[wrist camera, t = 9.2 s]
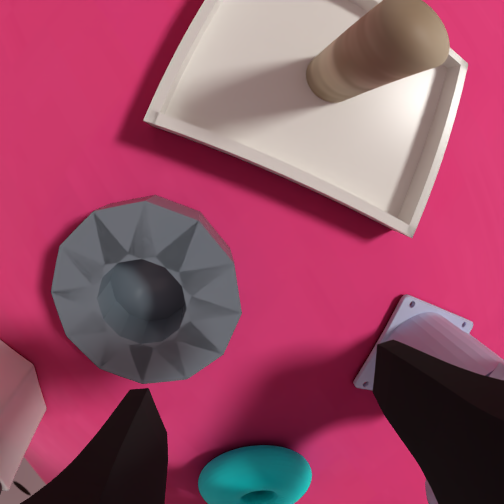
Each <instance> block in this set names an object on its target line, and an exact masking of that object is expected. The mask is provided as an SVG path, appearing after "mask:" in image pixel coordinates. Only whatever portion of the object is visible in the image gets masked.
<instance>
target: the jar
mask: <svg viewBox="0 0 504 504" xmlns="http://www.w3.org/2000/svg"><path fill="white" fill-rule="evenodd" d="M46 409H47V408H46V404H45V401H44V398H43V395H42V392H41V389H40V385H39V382H38V378H37V375H36V371H35V367H34V365H33V364H32V363H31V362H29V361H28V360H27V359H25V358H24V357H22V356H21V355H20V354H18V353H17V352H16V351H14V350H13V349H12V348H10V347H9V346H8V345H7V344H5V343H4V342H3V341H2V340H0V494H1V491H8V490H9V489H10V487H11V484H12V482H13V479H14V477H15V475H16V472H17V470H18V468H19V466H20V463H21V461H22V459H23V457H24V454H25V452H26V450H27V448H28V446H29V444H30V442H31V440H32V437H33V435H34V433H35V431H36V429H37V427H38V425H39V423H40V421H41V419H42V417H43V415H44V413H45V411H46Z"/></svg>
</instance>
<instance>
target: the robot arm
mask: <svg viewBox="0 0 504 504" xmlns="http://www.w3.org/2000/svg"><path fill="white" fill-rule="evenodd" d="M411 302H412V304H411V305H410V303H411ZM472 327H473V322H472V321H470V320H468V319H465V318H463V317H461V316H458V315H456V314H454V313H451V312H449V311H447V310H444V309H442V308H439V307H437V306H435V305H432V304H430V303H427V302H425V301H423V300H420V299H418V298H415V297H413V296H411V295H408V294H406V295H404V296H402V297H401V299H400V301H399V303H398V305H397V307H396V308H395V310H394V312H393V314H392V316H391V318H390V320H389V322H388V323H387V325H386V327H385V329H384V331H383V333H382V334H381V336H380V338H379V340H378V341H377V343H376V345H375V347H374V348H373V350H372V352H371V353H370V355H369V357H368V358H367V360H366V362H365V363H364V365H363V367H362V368H361V370H360V371H359V373H358V375H357V376H356V378H355V379H354V382H353V384H354V385H355V387H356V388H360V389H366V390H373V393H374V395H375V398H376V400H377V402H378V404H379V406H380V408H381V410H382V411H383V413H384V415H385V417H386V418H387V420H388V421H389V422H390V424H391V425H392V427H393V428H394V430H395V431H396V433H397V434H398V435H399V437H400V438H401V440H402V441H403V442H404V444H405V445H406V447H407V448H408V450H409V451H410V452H411V454H412V455H413V457H414V458H415V459H416V461H417V463H418V464H419V466H420V468H421V469H422V471H423V473H424V475H425V477H426V481H425V489H426V496H427V500H428V503H429V504H504V360H503V359H502V358H501V357H499V356H498V355H497V354H495V353H494V352H493V351H491V350H490V349H489V348H487V347H486V346H485V345H483V344H482V343H481V342H479V341H478V340H477V339H475V338H474V337H473V336H471V335H470V334H469V333H470V331H471V329H472ZM364 382H366V383H364ZM167 466H168V444H167V431H166V429H165V427H164V425H163V422H162V420H161V418H160V415H159V413H158V410H157V408H156V406H155V403H154V401H153V398H152V396H151V393H150V390H149V388H145V389H133V390H130V391H129V392H128V393H127V394H126V396H125V397H124V398H123V400H122V401H121V402H120V404H119V405H118V406H117V408H116V409H115V410H114V412H113V413H112V415H111V416H110V417H109V419H108V420H107V421H106V422H105V424H104V425H103V426H102V428H101V429H100V430H99V431H98V433H97V434H96V435H95V436H94V438H93V439H92V440H91V441H90V442H89V443H88V445H87V446H86V447H85V448H84V449H83V450H82V452H81V453H80V454H79V455H78V456H77V457H76V458H75V459H74V460H73V461H72V462H71V463H70V464H69V465H68V466H67V467H66V468H65V469H64V470H63V471H62V472H61V473H60V474H59V475H58V476H57V477H55V478H54V479H53V480H52V481H51V482H49V483H48V484H47V485H46V486H44V487H43V488H42V489H40V490H39V491H38V492H36V493H35V494H34V495H32V496H31V497H30V498H28V499H27V500H25V501H23V502H22V503H20V504H164V501H165V489H166V478H167Z"/></svg>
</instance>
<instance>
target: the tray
mask: <svg viewBox="0 0 504 504" xmlns="http://www.w3.org/2000/svg"><path fill="white" fill-rule="evenodd" d="M381 1H383V0H205V1H204V2H203V4H202V6H201V7H200V9H199V11H198V12H197V14H196V16H195V17H194V19H193V21H192V23H191V24H190V26H189V28H188V30H187V31H186V33H185V35H184V37H183V39H182V40H181V42H180V44H179V46H178V48H177V50H176V52H175V54H174V56H173V58H172V60H171V61H170V63H169V65H168V67H167V69H166V72H165V74H164V76H163V78H162V80H161V82H160V84H159V86H158V88H157V90H156V93H155V95H154V97H153V99H152V101H151V104H150V106H149V108H148V110H147V113H146V115H145V117H144V120H143V121H145V122H146V123H148V124H149V125H151V126H153V127H156V128H159V129H162V130H164V131H167V132H170V133H173V134H176V135H178V136H181V137H184V138H187V139H189V140H192V141H195V142H197V143H200V144H203V145H205V146H208V147H210V148H213V149H216V150H218V151H221V152H223V153H226V154H228V155H231V156H233V157H236V158H238V159H241V160H243V161H245V162H248V163H250V164H253V165H255V166H258V167H260V168H262V169H265V170H267V171H269V172H272V173H274V174H276V175H279V176H281V177H283V178H285V179H288V180H290V181H292V182H294V183H297V184H299V185H301V186H303V187H306V188H308V189H310V190H312V191H314V192H316V193H319V194H321V195H323V196H325V197H327V198H329V199H331V200H333V201H336V202H338V203H340V204H342V205H344V206H346V207H348V208H350V209H352V210H354V211H356V212H358V213H360V214H362V215H364V216H366V217H368V218H370V219H372V220H374V221H376V222H378V223H380V224H382V225H384V226H386V227H388V228H390V229H392V230H394V231H396V232H399V233H401V234H403V235H406V236H408V237H411V238H412V237H413V235H414V233H415V230H416V228H417V226H418V223H419V221H420V218H421V216H422V213H423V211H424V208H425V206H426V203H427V201H428V198H429V195H430V193H431V190H432V187H433V185H434V182H435V179H436V176H437V173H438V170H439V168H440V165H441V162H442V159H443V156H444V153H445V149H446V146H447V143H448V140H449V137H450V133H451V130H452V126H453V123H454V119H455V116H456V112H457V109H458V105H459V101H460V97H461V93H462V89H463V85H464V80H465V76H466V71H467V67H468V63H467V62H466V61H464V60H463V59H462V58H461V57H460V56H459V55H458V54H457V53H455V52H454V51H453V50H452V49H451V48H449V54H448V57H447V59H446V61H445V62H444V63H443V64H442V65H440V66H438V67H435V68H432V69H429V70H426V71H423V72H420V73H417V74H414V75H411V76H408V77H405V78H403V79H400V80H397V81H394V82H391V83H389V84H386V85H383V86H381V87H378V88H375V89H373V90H370V91H367V92H365V93H362V94H360V95H357V96H355V97H352V98H350V99H347V100H345V101H342V102H338V103H331V102H327V101H324V100H322V99H320V98H319V97H317V96H316V95H315V94H314V93H313V92H312V90H311V89H310V87H309V85H308V83H307V79H306V70H307V67H308V65H309V63H310V62H311V61H312V60H313V59H314V58H315V57H316V56H317V55H318V54H319V53H320V52H322V51H323V50H324V49H325V48H326V47H327V46H328V45H329V44H331V43H332V42H333V41H334V40H335V39H336V38H337V37H339V36H340V35H341V34H342V33H343V32H344V31H346V30H347V29H348V28H349V27H350V26H352V25H353V24H354V23H355V22H356V21H358V20H359V19H360V18H361V17H362V16H364V15H365V14H366V13H367V12H369V11H370V10H371V9H372V8H374V7H375V6H376V5H377V4H379V3H380V2H381Z"/></svg>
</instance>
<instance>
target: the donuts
mask: <svg viewBox="0 0 504 504" xmlns="http://www.w3.org/2000/svg"><path fill="white" fill-rule="evenodd" d="M311 479H312V472H311V468H310V465H309V463H308V462H307V461H306V459H305V458H304V457H303V456H301V455H300V454H299V453H297V452H295V451H293V450H291V449H288V448H284V447H280V446H273V445H254V446H246V447H241V448H237V449H234V450H231V451H228V452H225V453H223V454H221V455H219V456H217V457H216V458H214V459H213V460H211V461H210V462H209V463H208V464H207V465H206V466H205V467H204V468H203V470H202V471H201V473H200V476H199V479H198V488H199V492H200V494H201V496H202V497H203V499H204V500H205V501H206V502H207V503H208V504H294V503H295V502H296V501H298V500H299V499H300V498H301V497H302V496H303V495H304V494H305V493H306V491H307V489H308V488H309V486H310V483H311Z"/></svg>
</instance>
